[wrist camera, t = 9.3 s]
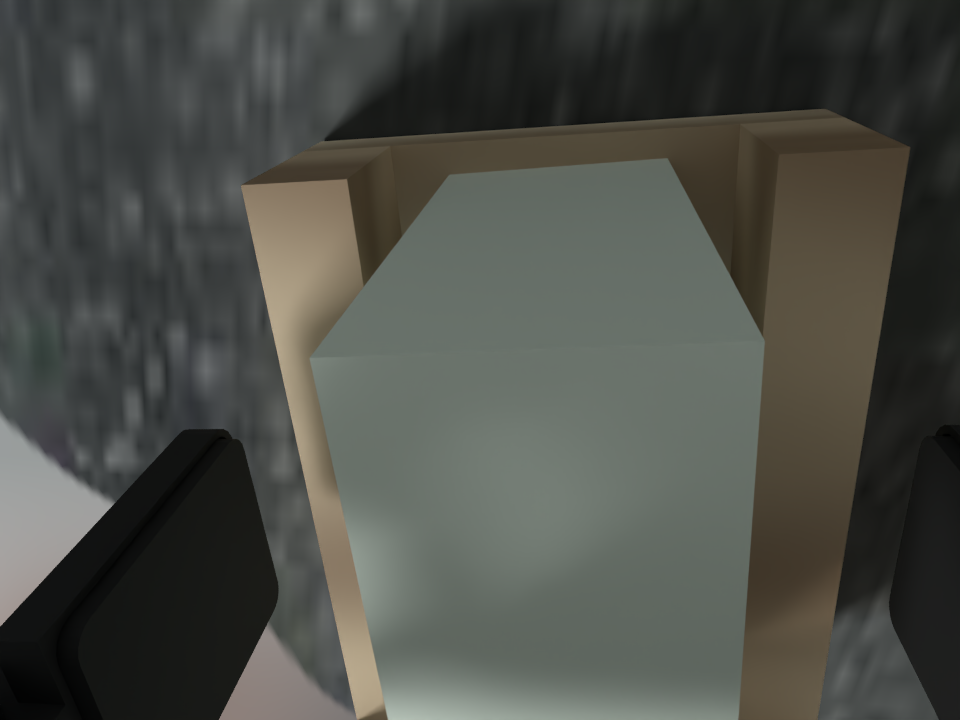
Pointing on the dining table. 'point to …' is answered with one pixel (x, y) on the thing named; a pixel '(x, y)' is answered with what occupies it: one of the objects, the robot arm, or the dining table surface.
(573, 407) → the pale green tall block
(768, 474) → the track block
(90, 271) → the dining table surface
